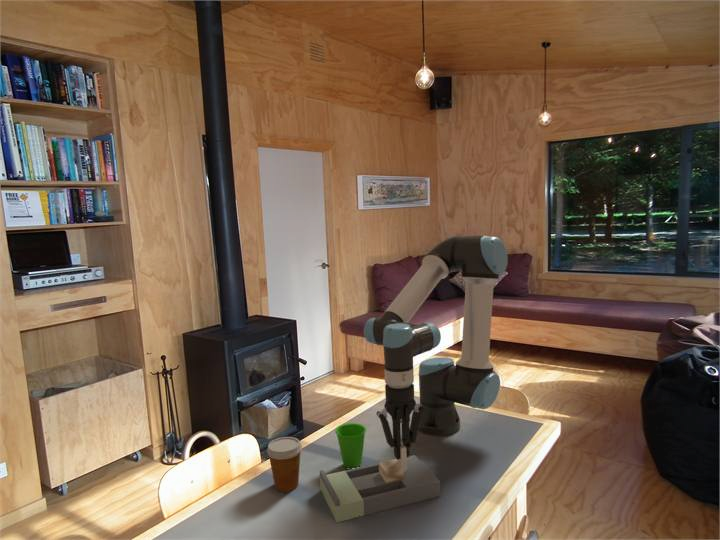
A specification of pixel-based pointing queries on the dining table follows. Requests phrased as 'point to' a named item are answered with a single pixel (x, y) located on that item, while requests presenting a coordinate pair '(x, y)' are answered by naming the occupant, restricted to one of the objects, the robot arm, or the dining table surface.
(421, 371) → the robot arm
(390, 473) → the block
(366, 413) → the dining table surface
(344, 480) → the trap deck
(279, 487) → the disposable coffee cup
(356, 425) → the cup
